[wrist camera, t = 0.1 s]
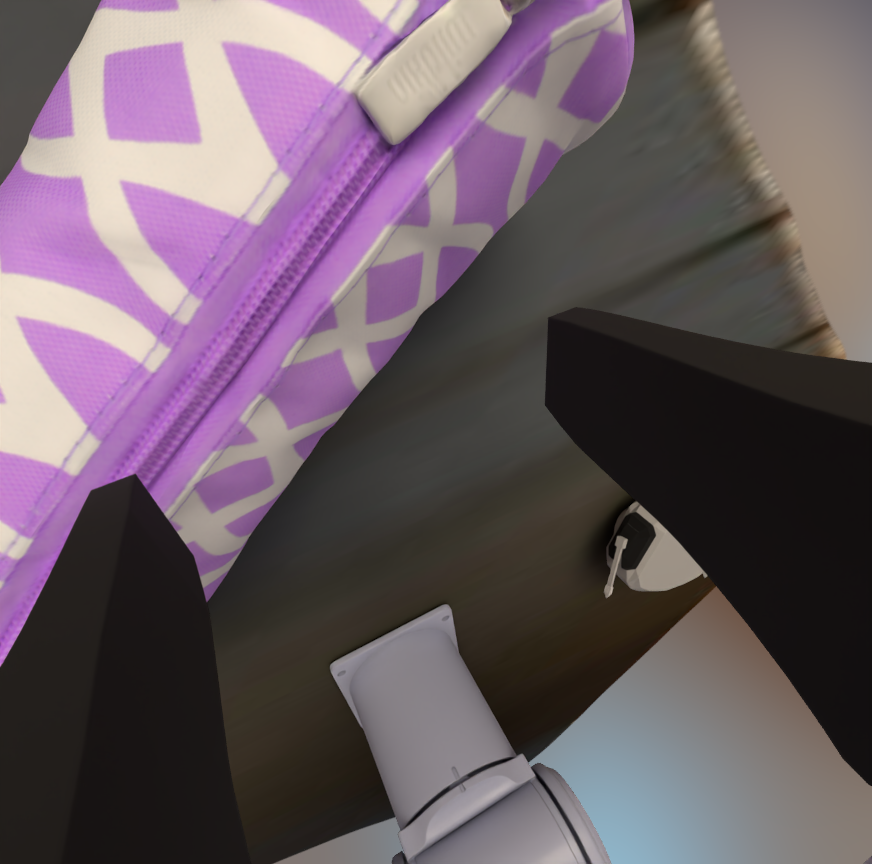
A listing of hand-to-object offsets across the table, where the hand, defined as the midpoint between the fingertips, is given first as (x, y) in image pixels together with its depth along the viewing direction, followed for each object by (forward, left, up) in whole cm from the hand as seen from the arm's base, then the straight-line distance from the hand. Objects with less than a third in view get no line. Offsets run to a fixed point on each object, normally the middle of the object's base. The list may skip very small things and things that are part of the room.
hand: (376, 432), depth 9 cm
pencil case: (0, +2, -10) cm, 10 cm away
